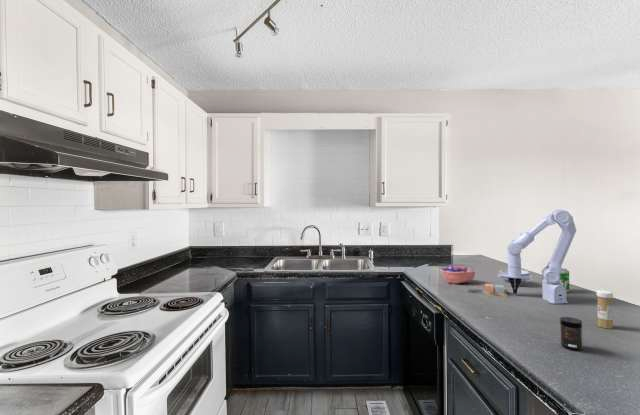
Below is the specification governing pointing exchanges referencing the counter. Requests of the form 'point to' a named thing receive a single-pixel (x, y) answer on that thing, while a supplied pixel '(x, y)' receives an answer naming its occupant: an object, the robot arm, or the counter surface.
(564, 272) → the soda can
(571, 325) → the supplement container
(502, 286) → the grey-blue block
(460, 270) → the cell model
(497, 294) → the maple chute
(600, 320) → the sprinkles bottle
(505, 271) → the chinaware
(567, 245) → the robot arm
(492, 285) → the terracotta block
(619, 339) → the counter surface
